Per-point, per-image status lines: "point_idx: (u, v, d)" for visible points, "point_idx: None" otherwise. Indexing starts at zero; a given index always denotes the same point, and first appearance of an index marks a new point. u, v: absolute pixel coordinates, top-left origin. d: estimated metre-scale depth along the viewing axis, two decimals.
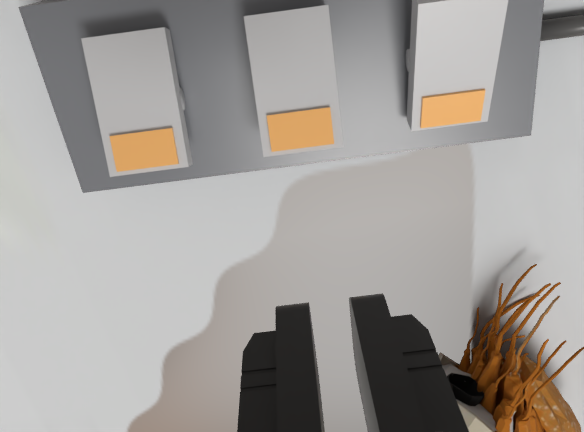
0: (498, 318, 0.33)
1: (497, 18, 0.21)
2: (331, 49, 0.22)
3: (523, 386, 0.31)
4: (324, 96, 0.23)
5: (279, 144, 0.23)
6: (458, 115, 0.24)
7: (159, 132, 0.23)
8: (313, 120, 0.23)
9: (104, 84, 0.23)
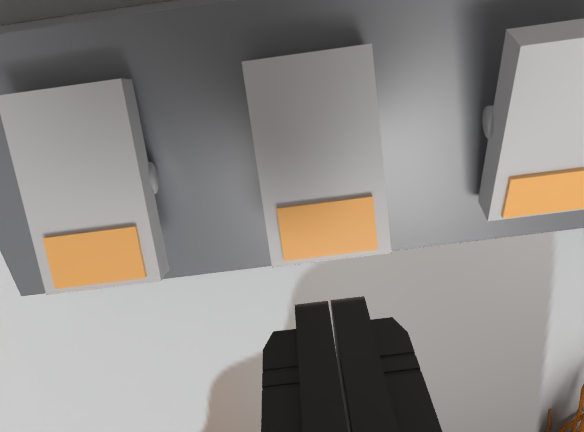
0: (581, 430, 0.25)
1: None
2: (375, 110, 0.15)
3: None
4: (364, 180, 0.15)
5: (296, 250, 0.15)
6: (560, 201, 0.16)
7: (116, 233, 0.15)
8: (346, 215, 0.15)
9: (32, 162, 0.15)
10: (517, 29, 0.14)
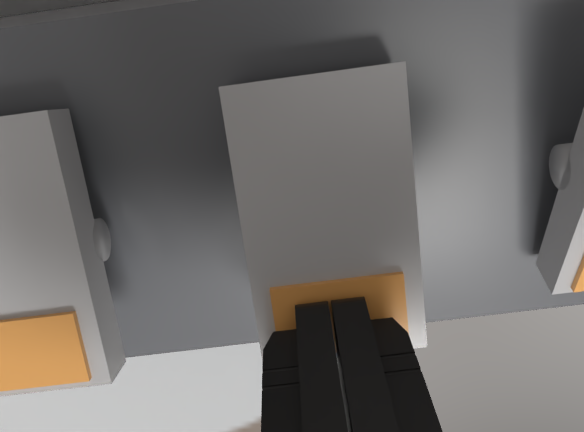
0: None
1: None
2: (409, 155, 0.10)
3: None
4: (391, 250, 0.11)
5: None
6: None
7: (47, 322, 0.11)
8: (366, 297, 0.11)
9: None
10: None
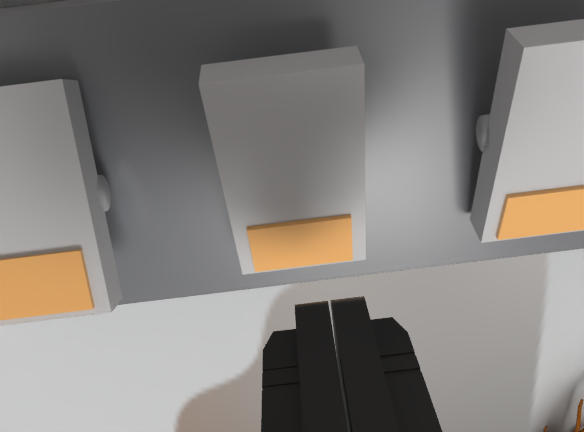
0: None
1: None
2: (362, 135, 0.12)
3: None
4: (343, 201, 0.14)
5: (268, 263, 0.15)
6: (561, 221, 0.15)
7: (57, 258, 0.13)
8: (321, 231, 0.14)
9: None
10: (518, 29, 0.12)
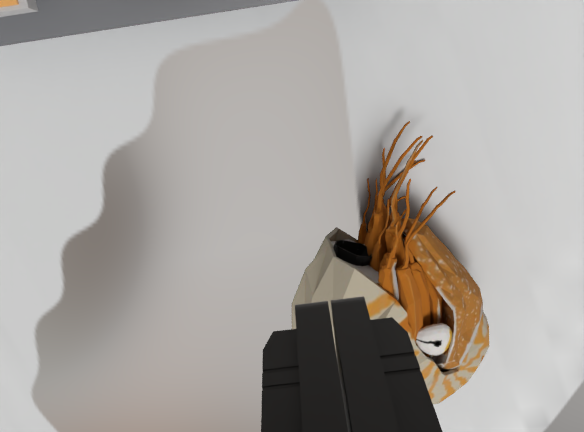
0: (381, 181, 0.34)
1: None
2: None
3: (399, 235, 0.31)
4: None
5: None
6: None
7: None
8: None
9: None
10: None
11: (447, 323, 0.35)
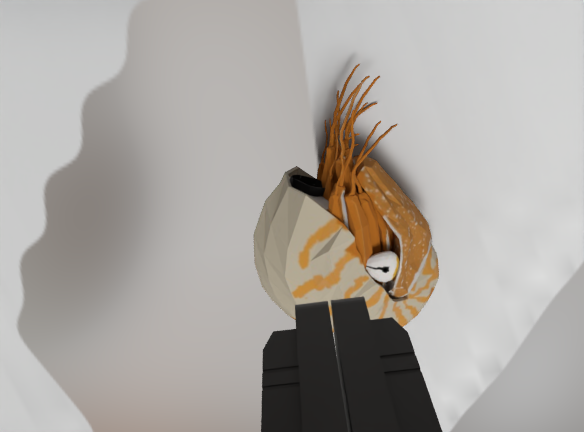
0: (334, 120, 0.37)
1: None
2: None
3: (346, 164, 0.34)
4: None
5: None
6: None
7: None
8: None
9: None
10: None
11: (396, 253, 0.38)
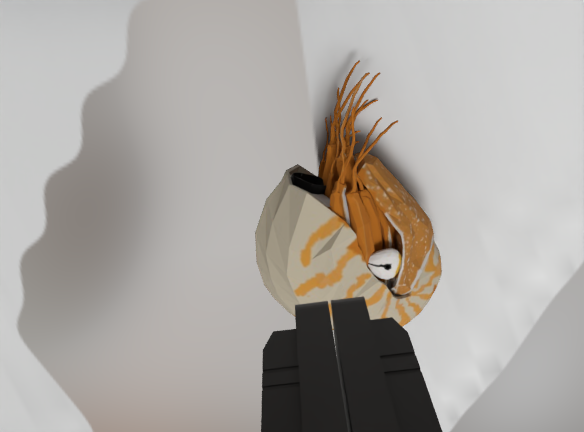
0: (335, 117, 0.37)
1: None
2: None
3: (347, 162, 0.34)
4: None
5: None
6: None
7: None
8: None
9: None
10: None
11: (398, 250, 0.38)
